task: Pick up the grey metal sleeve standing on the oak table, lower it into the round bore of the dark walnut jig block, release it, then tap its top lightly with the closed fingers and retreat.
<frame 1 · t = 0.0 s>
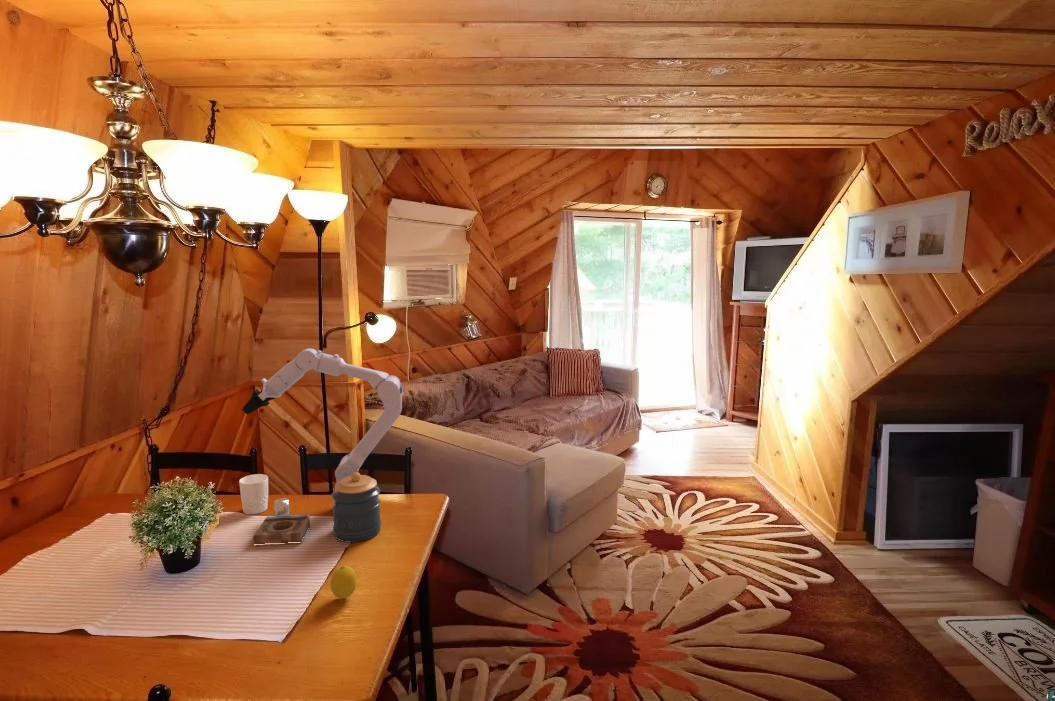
hand: (249, 408, 159), 32 cm above the table, tool tilted 50°, fingers open, 7 cm apart
white cup: (255, 510, 165), on the table
lemon: (344, 599, 121), on the table
canister: (357, 532, 152), on the table
bushing: (282, 520, 159), on the table
jig: (283, 535, 149), on the table
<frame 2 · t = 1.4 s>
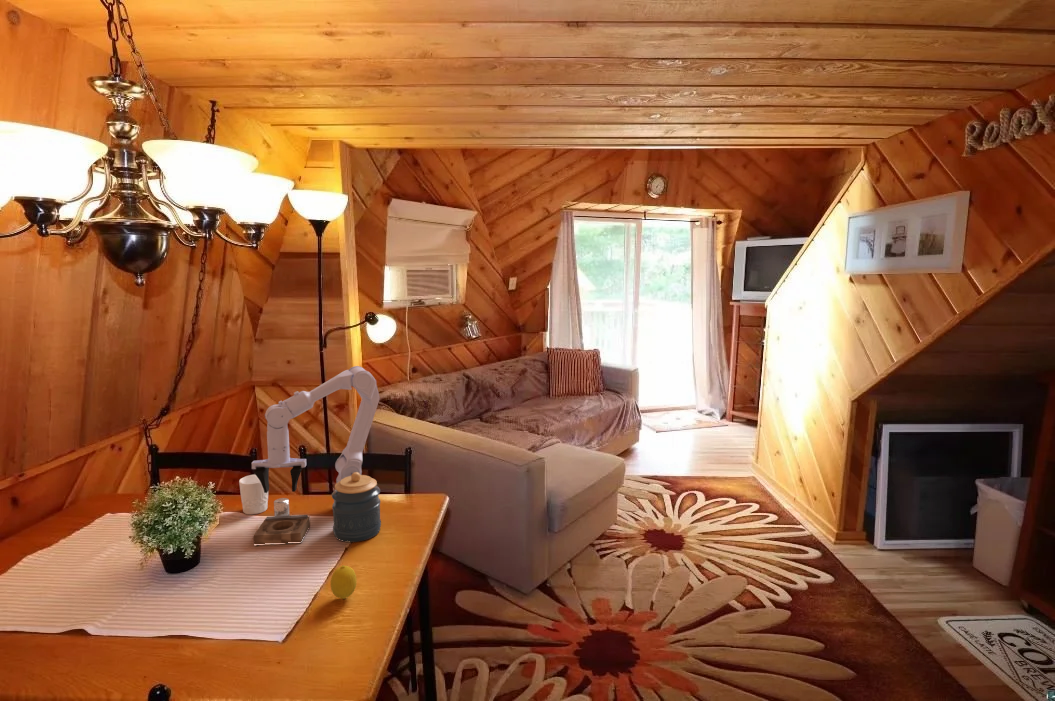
hand: (280, 490, 157), 9 cm above the table, tool pointing down, fingers open, 7 cm apart
nothing on the table moved.
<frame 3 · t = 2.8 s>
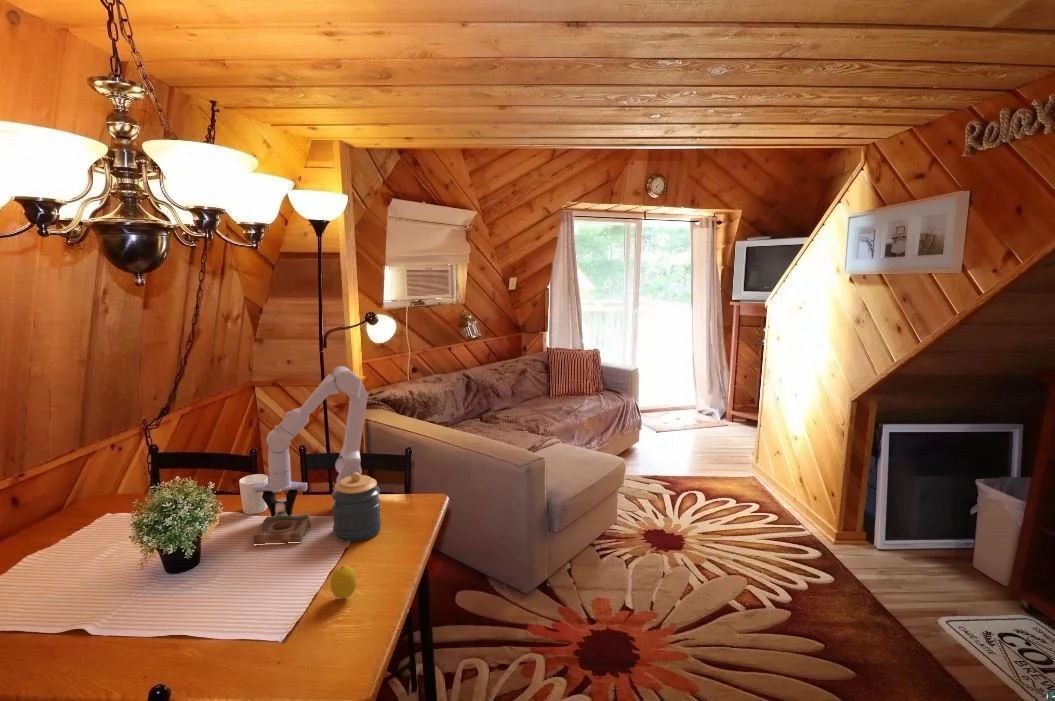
hand: (281, 514, 158), 2 cm above the table, tool pointing down, fingers closed on bushing, 4 cm apart
bushing: (282, 520, 159), on the table, touching gripper
everything else where it was.
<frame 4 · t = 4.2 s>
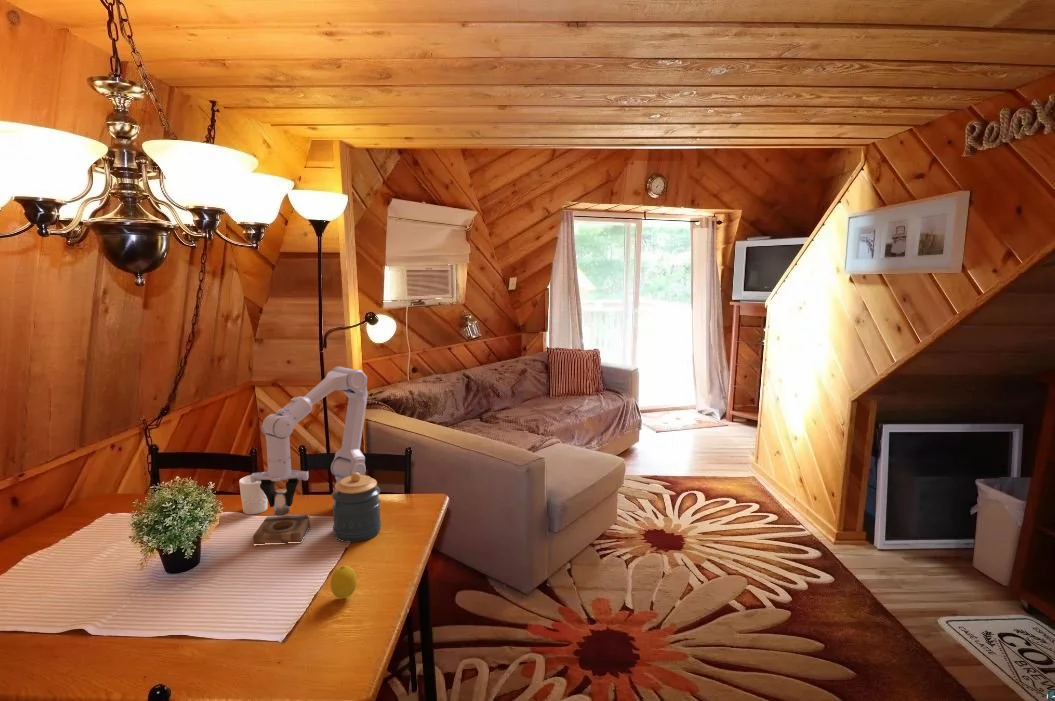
hand: (281, 505, 148), 9 cm above the table, tool pointing down, fingers closed on bushing, 4 cm apart
bushing: (281, 512, 149), point 7 cm above the table, touching gripper
everything else where it was.
when the fingers open (4 cm above the table, at t = 5.6 s): bushing drops 2 cm, resting in jig.
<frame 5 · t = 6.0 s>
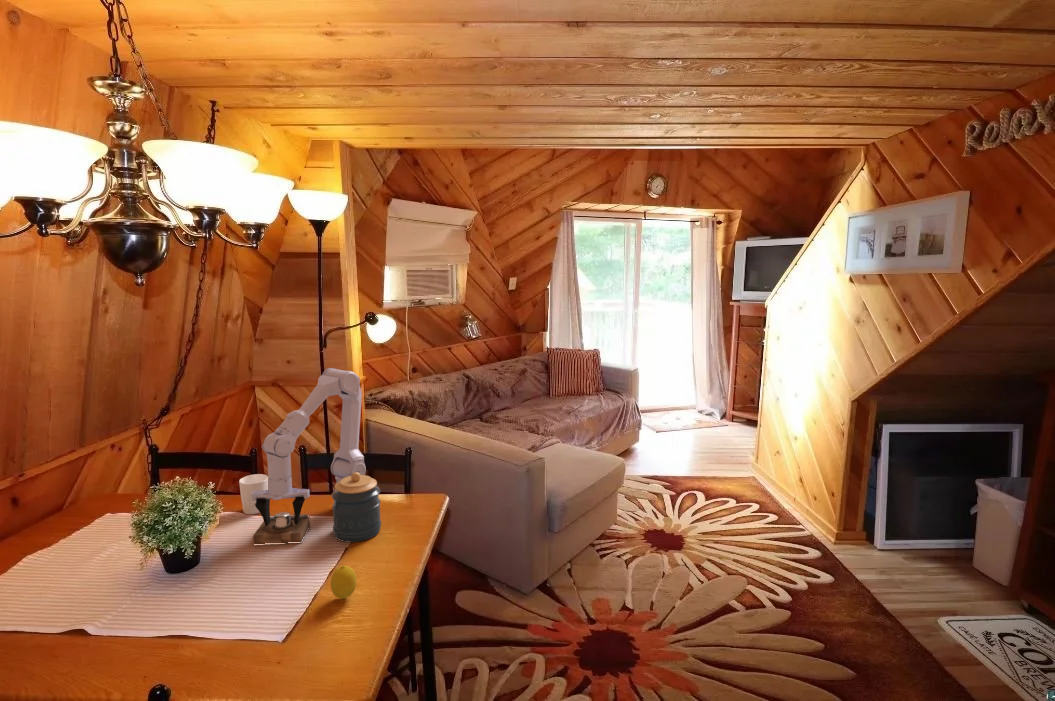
hand: (282, 523, 149), 4 cm above the table, tool pointing down, fingers open, 7 cm apart
bushing: (283, 535, 149), resting in jig
everything else where it was.
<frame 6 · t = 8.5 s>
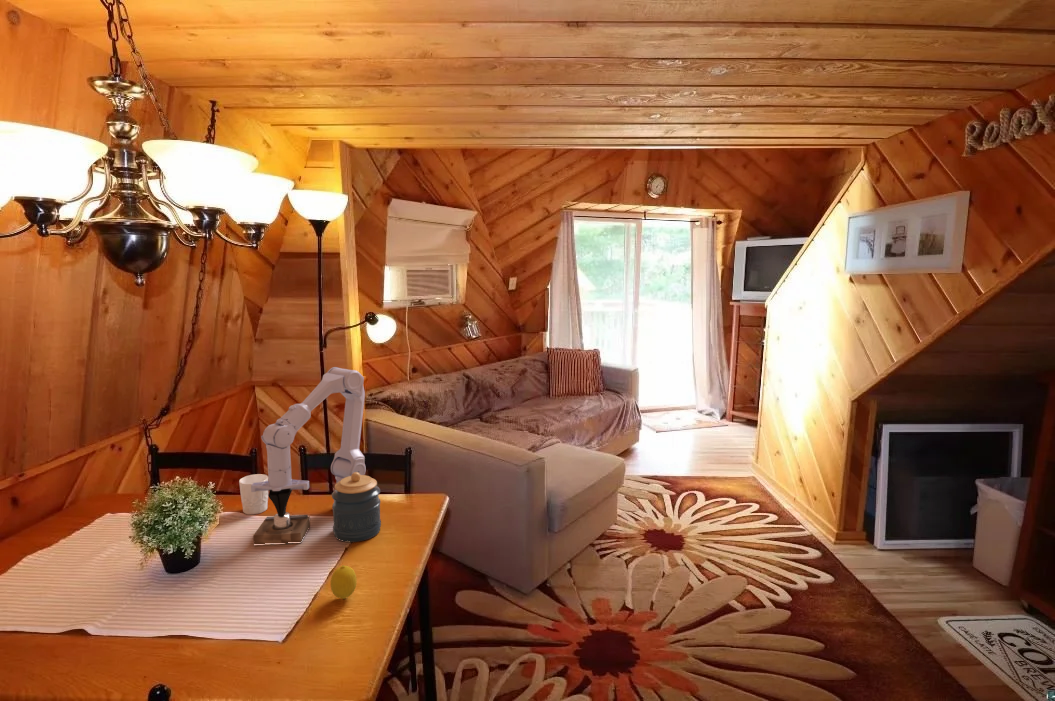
hand: (281, 514, 148), 6 cm above the table, tool pointing down, fingers closed
nothing on the table moved.
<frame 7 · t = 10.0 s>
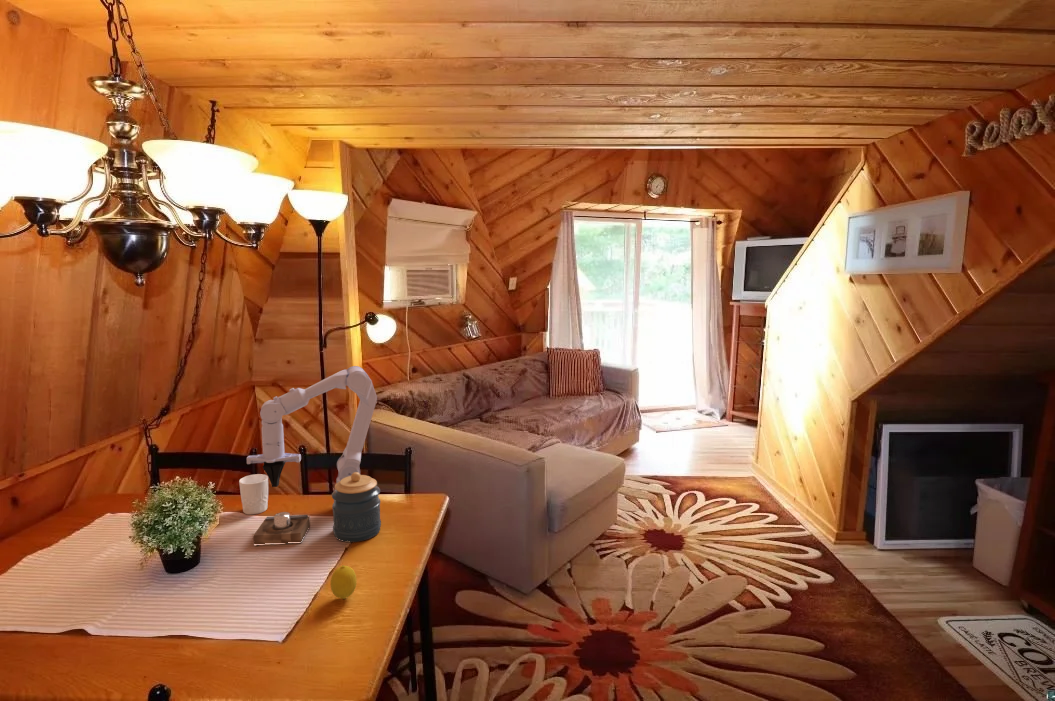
hand: (275, 485, 159), 10 cm above the table, tool pointing down, fingers closed
nothing on the table moved.
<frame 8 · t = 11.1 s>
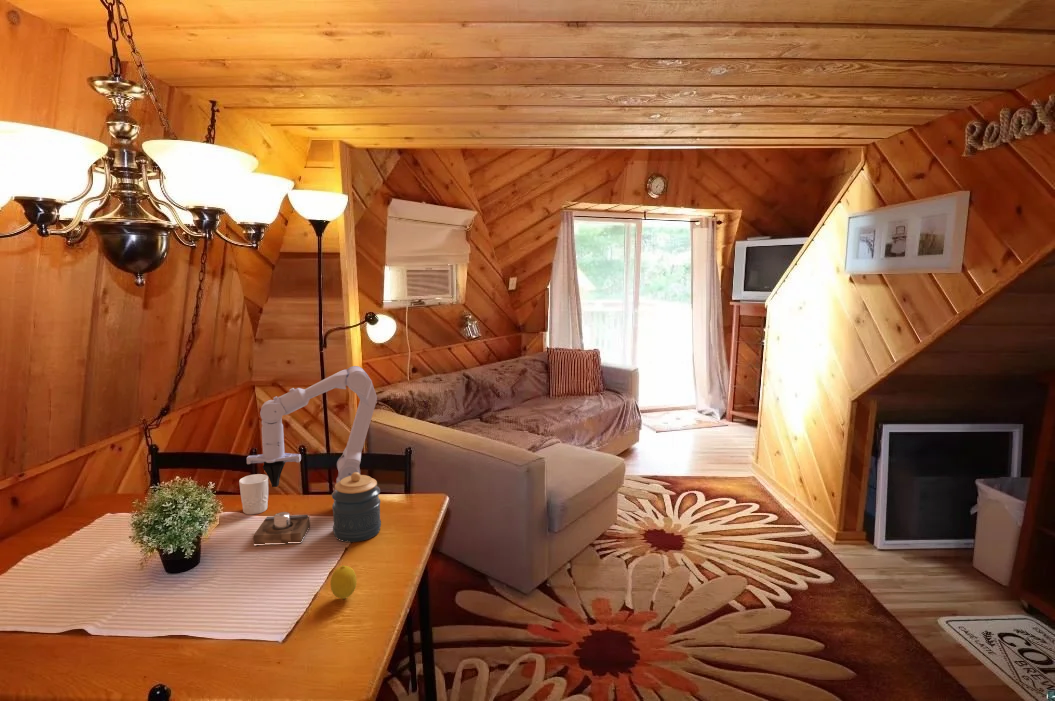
hand: (275, 485, 159), 10 cm above the table, tool pointing down, fingers closed
nothing on the table moved.
at the end: bushing 0.2 cm off-centre in the jig, point 0.0 cm above the jig's base; bushing tilted 0°; the gripper is holding nothing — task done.
